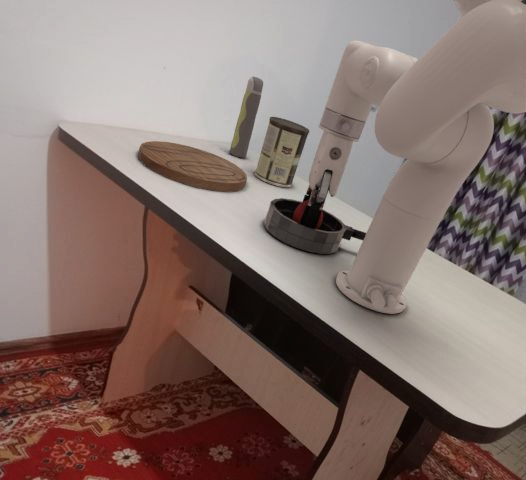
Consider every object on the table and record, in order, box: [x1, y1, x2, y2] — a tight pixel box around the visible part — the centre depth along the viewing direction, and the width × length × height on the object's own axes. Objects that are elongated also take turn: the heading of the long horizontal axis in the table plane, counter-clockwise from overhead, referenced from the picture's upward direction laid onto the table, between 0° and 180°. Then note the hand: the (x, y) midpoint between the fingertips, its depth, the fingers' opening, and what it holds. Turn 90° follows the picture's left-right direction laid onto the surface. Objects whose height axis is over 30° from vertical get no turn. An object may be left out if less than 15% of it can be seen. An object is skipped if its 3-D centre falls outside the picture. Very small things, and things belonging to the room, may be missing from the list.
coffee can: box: [254, 116, 310, 188], centre depth 117 cm, size 10×10×14 cm
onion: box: [293, 196, 323, 229], centre depth 90 cm, size 6×6×8 cm
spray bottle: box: [229, 76, 264, 159], centre depth 126 cm, size 5×5×20 cm
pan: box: [263, 197, 347, 255], centre depth 91 cm, size 16×16×4 cm
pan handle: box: [342, 224, 367, 242], centre depth 92 cm, size 2×12×2 cm, turn 87°
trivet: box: [137, 140, 248, 193], centre depth 107 cm, size 25×25×2 cm
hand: (306, 220), depth 90 cm, fingers closed on onion, 6 cm apart
